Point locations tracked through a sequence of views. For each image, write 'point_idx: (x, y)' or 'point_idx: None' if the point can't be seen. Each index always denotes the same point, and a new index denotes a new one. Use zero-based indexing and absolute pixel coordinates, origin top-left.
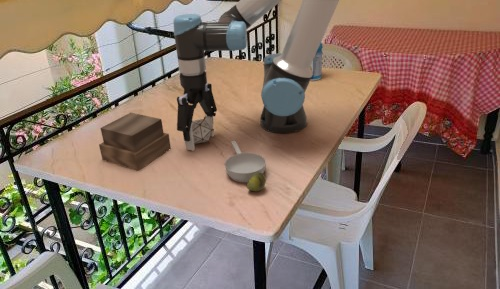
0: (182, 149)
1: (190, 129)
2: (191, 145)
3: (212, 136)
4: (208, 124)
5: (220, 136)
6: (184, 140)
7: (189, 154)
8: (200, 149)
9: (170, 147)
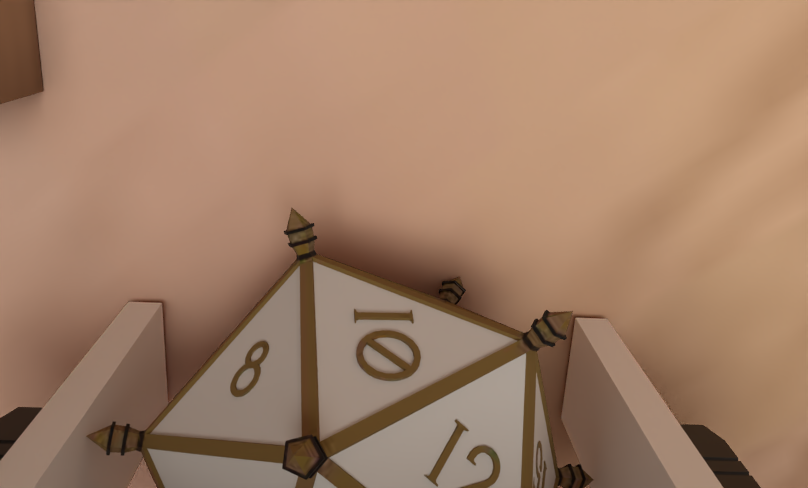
0: (115, 249)
1: (189, 467)
2: None
3: (562, 416)
4: (620, 481)
5: None
6: (15, 410)
7: None
8: None
9: (26, 95)
